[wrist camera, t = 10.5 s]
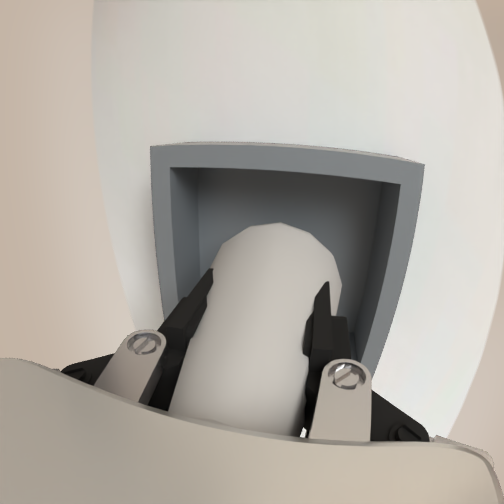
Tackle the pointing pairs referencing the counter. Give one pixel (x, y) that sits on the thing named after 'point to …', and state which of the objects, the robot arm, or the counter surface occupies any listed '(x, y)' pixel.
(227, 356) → the salt shaker
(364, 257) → the box
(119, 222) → the counter surface
